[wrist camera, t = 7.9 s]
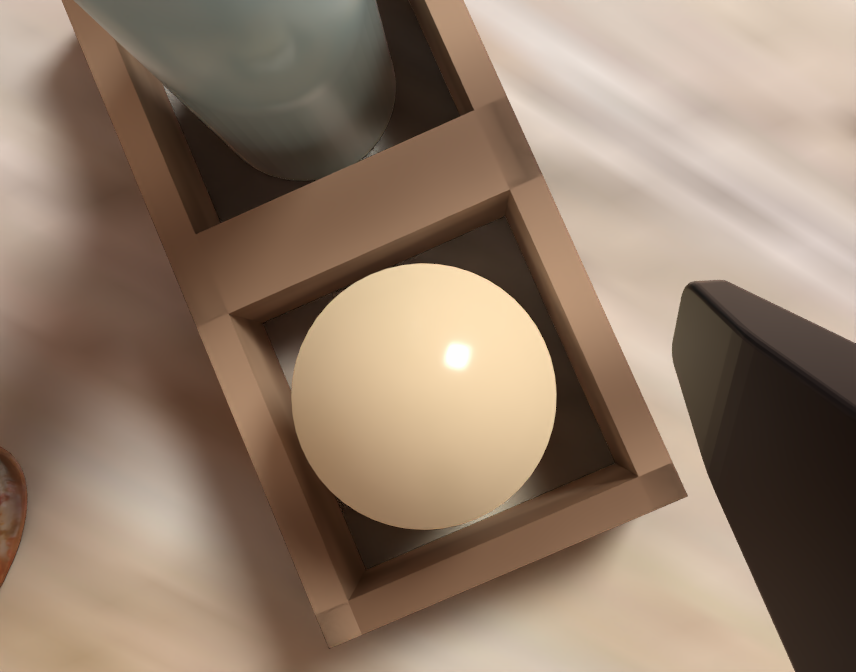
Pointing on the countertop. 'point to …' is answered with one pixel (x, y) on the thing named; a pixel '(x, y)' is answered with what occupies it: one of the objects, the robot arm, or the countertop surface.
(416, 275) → the cream lidded jar
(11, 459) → the tin
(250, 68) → the tall jar
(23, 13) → the countertop surface
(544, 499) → the caddy
